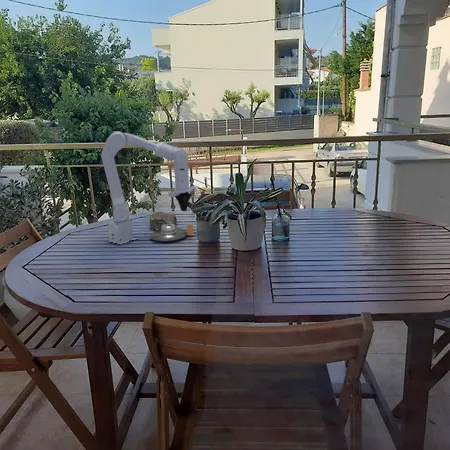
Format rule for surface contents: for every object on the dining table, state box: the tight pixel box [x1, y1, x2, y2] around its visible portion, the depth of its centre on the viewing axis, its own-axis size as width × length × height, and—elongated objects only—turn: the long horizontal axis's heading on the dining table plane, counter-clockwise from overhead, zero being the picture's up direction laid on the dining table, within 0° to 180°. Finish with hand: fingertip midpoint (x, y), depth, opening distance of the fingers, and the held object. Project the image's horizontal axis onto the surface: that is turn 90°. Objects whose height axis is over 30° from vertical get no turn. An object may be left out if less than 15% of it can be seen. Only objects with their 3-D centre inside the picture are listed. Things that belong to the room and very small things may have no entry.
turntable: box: [150, 223, 194, 242], centre depth 166 cm, size 15×18×4 cm
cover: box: [161, 223, 176, 235], centre depth 166 cm, size 6×6×3 cm
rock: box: [149, 211, 178, 230], centre depth 184 cm, size 13×6×15 cm
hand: (184, 210), depth 169 cm, fingers closed
